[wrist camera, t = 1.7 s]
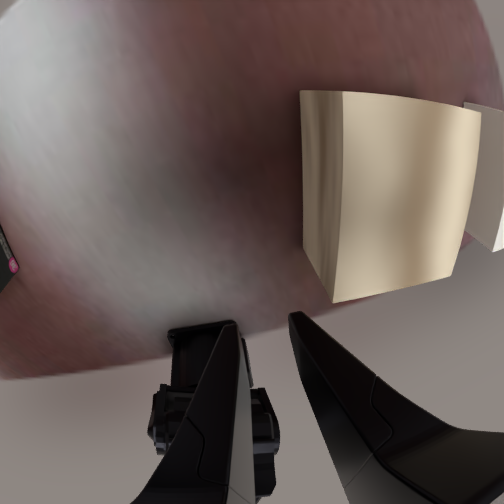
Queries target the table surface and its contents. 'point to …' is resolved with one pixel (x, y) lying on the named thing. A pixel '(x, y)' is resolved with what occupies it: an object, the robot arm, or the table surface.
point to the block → (384, 189)
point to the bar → (488, 181)
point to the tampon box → (6, 263)
